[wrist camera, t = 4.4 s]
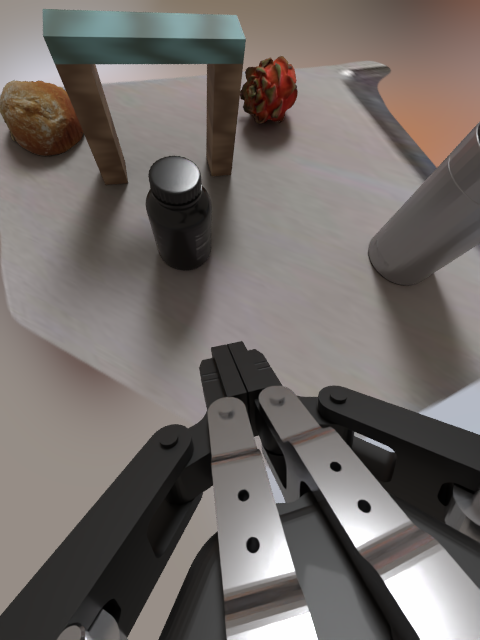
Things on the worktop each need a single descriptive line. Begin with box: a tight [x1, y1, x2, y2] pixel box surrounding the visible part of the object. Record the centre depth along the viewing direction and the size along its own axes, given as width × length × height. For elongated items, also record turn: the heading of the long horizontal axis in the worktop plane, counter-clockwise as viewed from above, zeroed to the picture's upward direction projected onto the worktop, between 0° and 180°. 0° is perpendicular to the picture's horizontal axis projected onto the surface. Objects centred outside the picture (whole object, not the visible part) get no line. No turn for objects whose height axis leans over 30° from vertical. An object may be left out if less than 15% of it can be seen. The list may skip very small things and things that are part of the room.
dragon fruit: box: [240, 56, 297, 123], centre depth 44 cm, size 8×8×12 cm
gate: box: [43, 9, 246, 185], centre depth 33 cm, size 18×4×16 cm, turn 104°
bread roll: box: [0, 81, 84, 156], centre depth 39 cm, size 10×10×8 cm
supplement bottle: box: [146, 156, 212, 270], centre depth 31 cm, size 7×7×12 cm
